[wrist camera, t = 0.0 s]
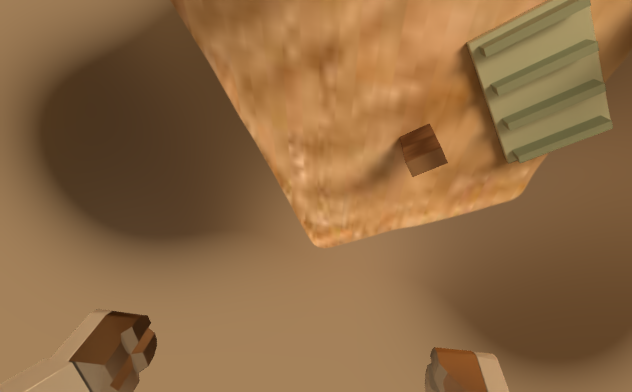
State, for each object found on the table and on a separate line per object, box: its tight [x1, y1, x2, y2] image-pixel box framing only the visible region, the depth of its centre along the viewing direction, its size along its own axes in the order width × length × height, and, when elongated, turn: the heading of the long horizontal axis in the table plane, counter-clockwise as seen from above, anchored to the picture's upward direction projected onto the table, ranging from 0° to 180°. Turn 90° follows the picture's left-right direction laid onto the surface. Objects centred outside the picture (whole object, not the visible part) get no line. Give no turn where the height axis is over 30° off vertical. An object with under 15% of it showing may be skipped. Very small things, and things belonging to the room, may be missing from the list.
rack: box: [466, 0, 613, 163], centre depth 47 cm, size 14×20×4 cm
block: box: [400, 124, 448, 177], centre depth 51 cm, size 5×2×10 cm, turn 120°
